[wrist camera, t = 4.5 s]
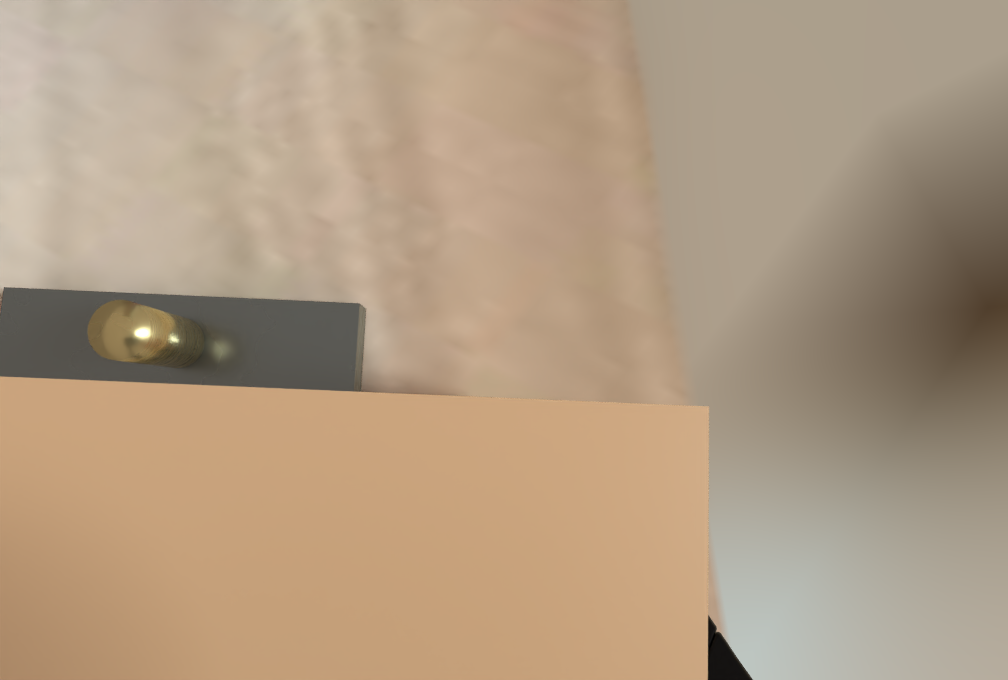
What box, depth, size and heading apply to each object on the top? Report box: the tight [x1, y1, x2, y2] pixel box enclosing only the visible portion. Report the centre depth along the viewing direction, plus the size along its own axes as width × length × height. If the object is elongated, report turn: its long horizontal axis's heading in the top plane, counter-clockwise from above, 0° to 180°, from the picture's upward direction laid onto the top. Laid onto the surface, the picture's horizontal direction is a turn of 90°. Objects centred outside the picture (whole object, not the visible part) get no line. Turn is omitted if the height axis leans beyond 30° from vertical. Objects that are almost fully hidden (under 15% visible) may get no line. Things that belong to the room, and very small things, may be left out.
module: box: [0, 376, 709, 680], centre depth 10 cm, size 4×4×13 cm
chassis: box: [0, 287, 366, 392], centre depth 17 cm, size 10×10×4 cm
